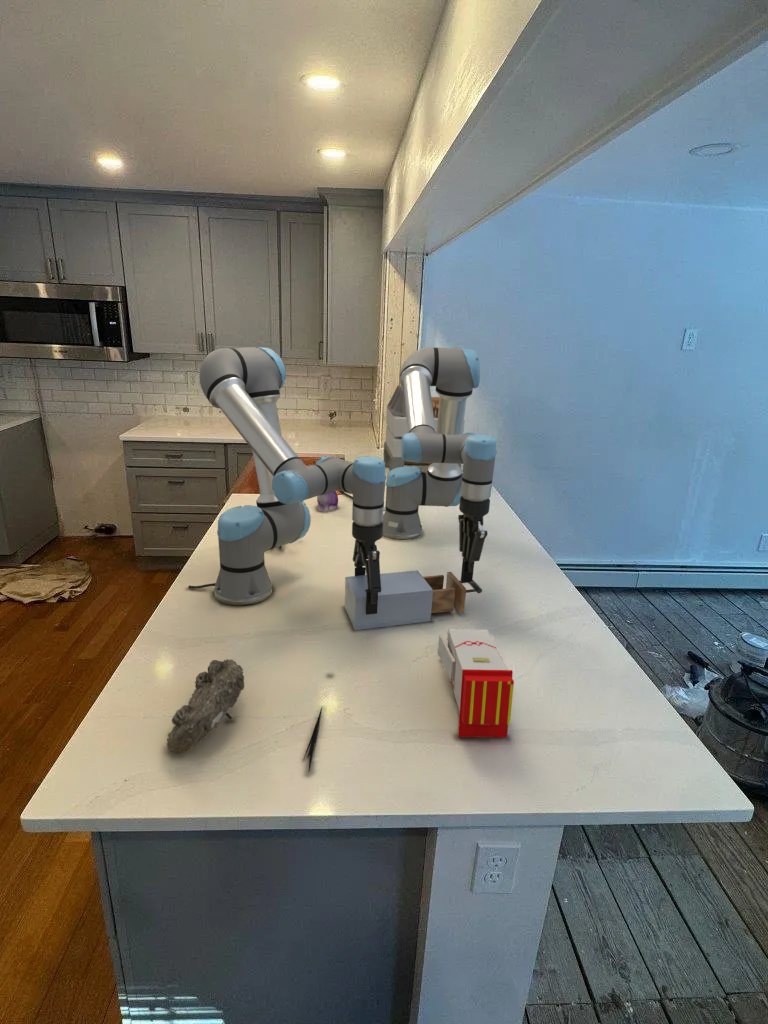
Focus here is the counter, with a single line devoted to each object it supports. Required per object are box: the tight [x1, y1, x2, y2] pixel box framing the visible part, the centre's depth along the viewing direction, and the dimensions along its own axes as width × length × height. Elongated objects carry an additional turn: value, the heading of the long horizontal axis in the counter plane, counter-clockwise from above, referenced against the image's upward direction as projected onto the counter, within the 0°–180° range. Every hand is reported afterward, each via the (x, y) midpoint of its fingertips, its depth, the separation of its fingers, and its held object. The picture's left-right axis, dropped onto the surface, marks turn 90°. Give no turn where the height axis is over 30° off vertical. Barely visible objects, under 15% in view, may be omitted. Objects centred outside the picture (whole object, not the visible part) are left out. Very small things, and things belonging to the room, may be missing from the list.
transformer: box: [383, 384, 465, 471], centre depth 268 cm, size 34×33×41 cm
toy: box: [437, 628, 515, 738], centre depth 117 cm, size 12×13×30 cm
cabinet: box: [344, 569, 433, 631], centre depth 146 cm, size 20×12×9 cm, turn 106°
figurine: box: [316, 491, 339, 512], centre depth 219 cm, size 9×10×15 cm
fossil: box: [166, 658, 245, 754], centre depth 106 cm, size 22×10×15 cm
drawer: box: [423, 571, 483, 614], centre depth 149 cm, size 24×10×7 cm, turn 106°
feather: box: [301, 673, 332, 771], centre depth 108 cm, size 2×28×2 cm
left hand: (365, 601), depth 144 cm, fingers closed on cabinet, 11 cm apart
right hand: (466, 580), depth 151 cm, fingers closed
